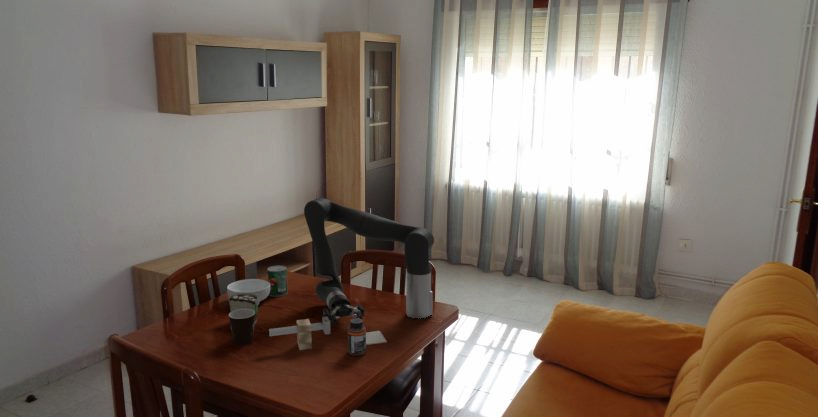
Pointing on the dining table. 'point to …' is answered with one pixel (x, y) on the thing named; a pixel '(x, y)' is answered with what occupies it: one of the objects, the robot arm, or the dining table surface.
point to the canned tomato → (277, 280)
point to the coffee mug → (242, 326)
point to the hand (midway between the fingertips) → (348, 320)
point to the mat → (374, 338)
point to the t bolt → (294, 329)
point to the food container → (244, 302)
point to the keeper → (304, 334)
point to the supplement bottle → (356, 337)
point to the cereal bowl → (250, 287)
